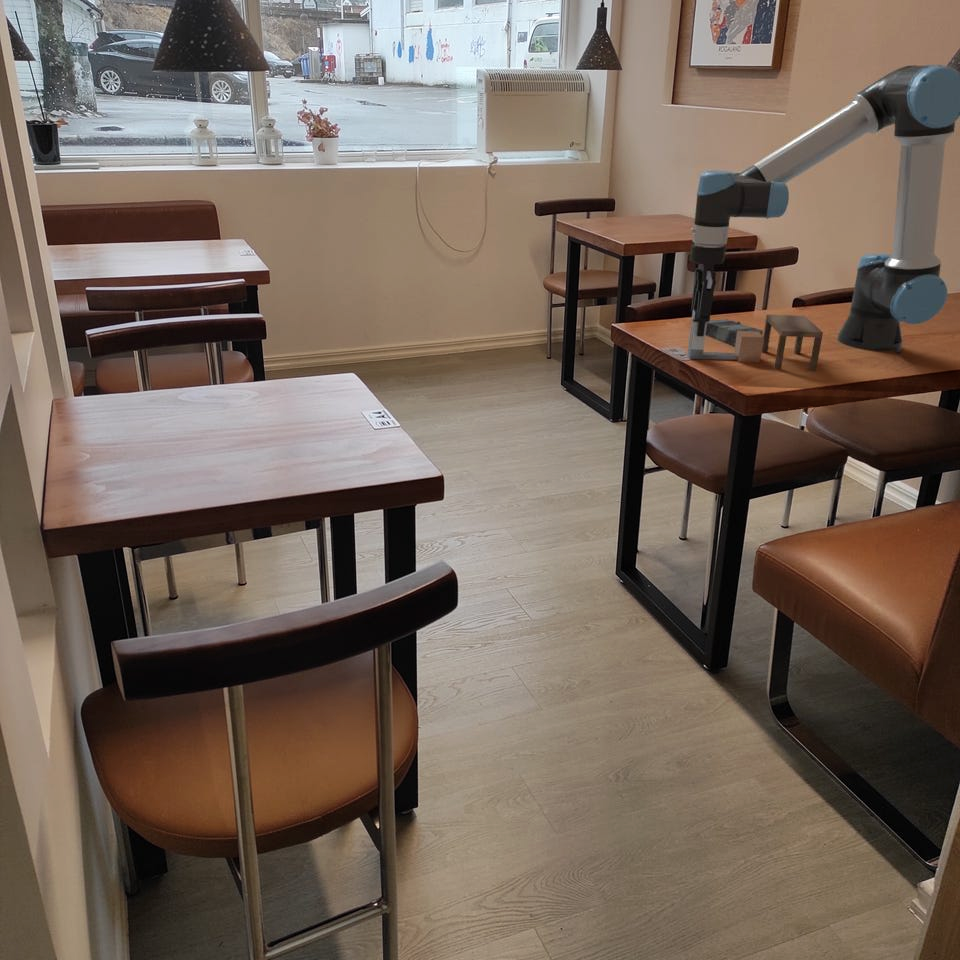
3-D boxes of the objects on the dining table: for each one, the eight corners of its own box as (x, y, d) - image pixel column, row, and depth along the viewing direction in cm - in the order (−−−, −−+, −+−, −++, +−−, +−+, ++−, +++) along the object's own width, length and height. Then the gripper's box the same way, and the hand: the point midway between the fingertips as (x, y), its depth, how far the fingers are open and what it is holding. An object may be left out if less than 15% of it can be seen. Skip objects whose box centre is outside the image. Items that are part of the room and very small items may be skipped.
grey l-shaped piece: (755, 356, 213) (762, 310, 208) (759, 362, 208) (767, 315, 204) (686, 353, 214) (692, 308, 209) (690, 360, 209) (695, 313, 204)
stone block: (728, 336, 235) (730, 316, 233) (765, 350, 223) (768, 330, 221) (700, 339, 232) (702, 318, 230) (736, 354, 220) (739, 333, 218)
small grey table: (797, 357, 217) (805, 315, 213) (814, 376, 204) (823, 332, 200) (760, 356, 218) (766, 314, 213) (774, 374, 204) (781, 330, 200)
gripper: (686, 237, 208) (675, 336, 218) (697, 250, 193) (685, 356, 203) (719, 238, 208) (706, 338, 217) (733, 251, 193) (718, 357, 203)
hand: (696, 346), depth 210 cm, fingers closed on grey l-shaped piece, 3 cm apart
